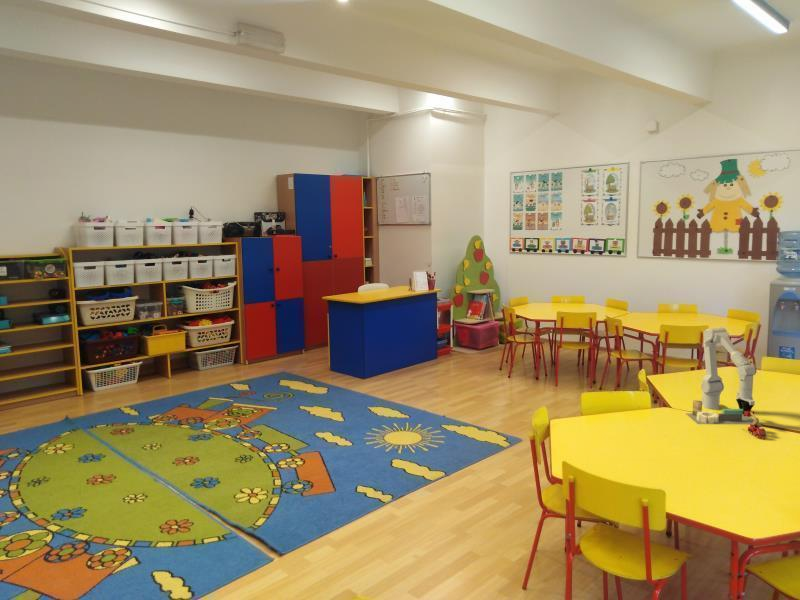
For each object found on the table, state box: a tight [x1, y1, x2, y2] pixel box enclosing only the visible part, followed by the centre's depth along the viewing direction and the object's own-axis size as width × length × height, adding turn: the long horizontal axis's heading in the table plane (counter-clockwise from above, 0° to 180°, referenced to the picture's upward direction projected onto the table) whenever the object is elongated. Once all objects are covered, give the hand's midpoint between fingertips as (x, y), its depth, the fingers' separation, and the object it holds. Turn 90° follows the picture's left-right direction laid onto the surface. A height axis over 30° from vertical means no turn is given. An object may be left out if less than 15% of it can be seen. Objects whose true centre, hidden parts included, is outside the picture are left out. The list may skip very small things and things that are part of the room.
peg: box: [691, 399, 703, 416], centre depth 308 cm, size 4×4×7 cm
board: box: [685, 410, 763, 428], centre depth 302 cm, size 16×30×4 cm, turn 85°
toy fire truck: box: [744, 410, 767, 440], centre depth 283 cm, size 3×14×10 cm, turn 179°
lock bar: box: [721, 408, 743, 414], centre depth 299 cm, size 3×12×2 cm, turn 85°
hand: (744, 414), depth 299 cm, fingers open, 3 cm apart
